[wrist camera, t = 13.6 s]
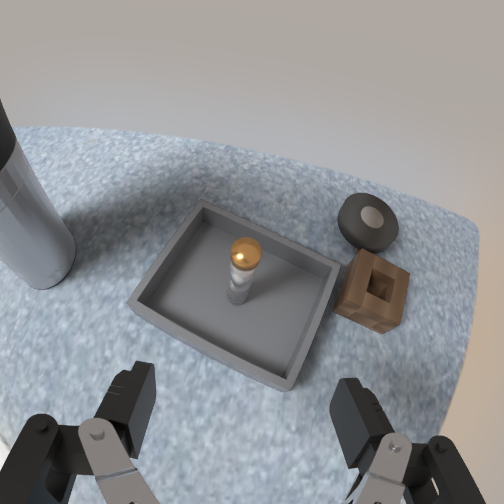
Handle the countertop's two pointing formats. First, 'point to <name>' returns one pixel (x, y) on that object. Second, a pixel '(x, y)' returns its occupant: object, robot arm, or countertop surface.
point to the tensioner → (371, 265)
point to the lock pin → (242, 269)
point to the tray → (242, 316)
